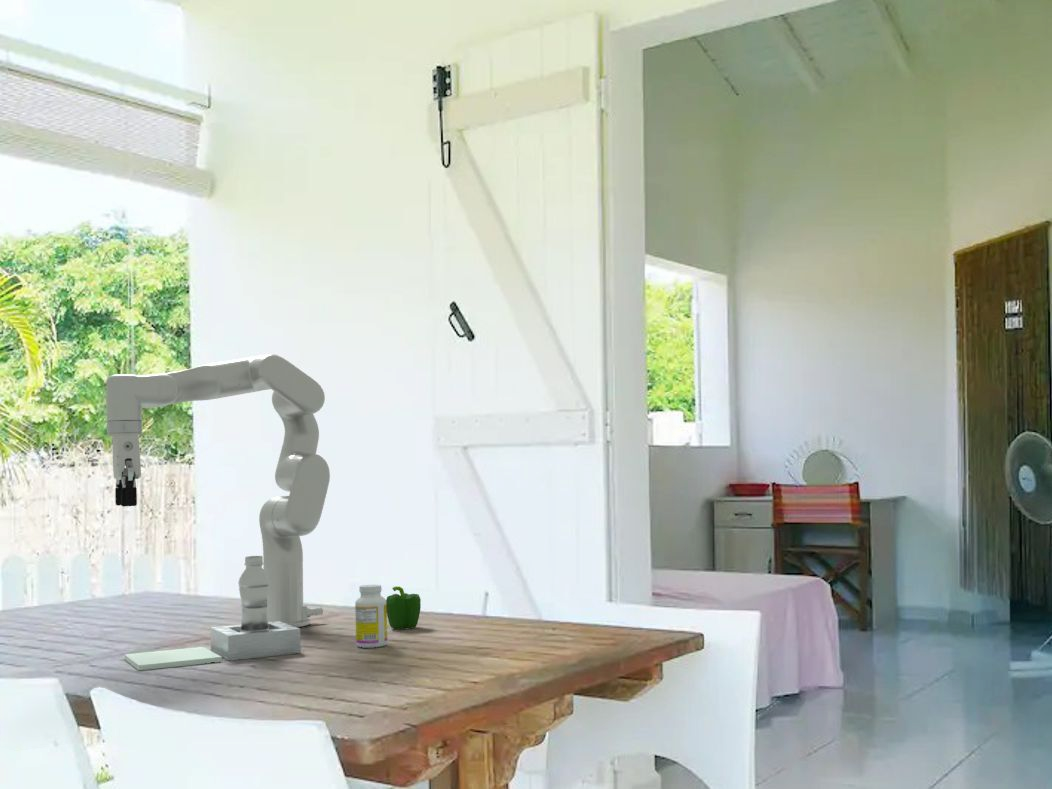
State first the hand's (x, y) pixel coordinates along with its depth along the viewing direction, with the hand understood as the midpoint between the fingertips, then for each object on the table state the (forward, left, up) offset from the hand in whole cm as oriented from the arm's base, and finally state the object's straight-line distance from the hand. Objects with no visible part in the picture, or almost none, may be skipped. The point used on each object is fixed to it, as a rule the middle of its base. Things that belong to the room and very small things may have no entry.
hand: (126, 505), depth 257 cm
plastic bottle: (-21, +28, -31) cm, 47 cm away
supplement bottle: (-44, +36, -31) cm, 65 cm away
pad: (-4, +28, -31) cm, 42 cm away
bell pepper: (-60, +15, -31) cm, 70 cm away
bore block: (-21, +28, -31) cm, 47 cm away
